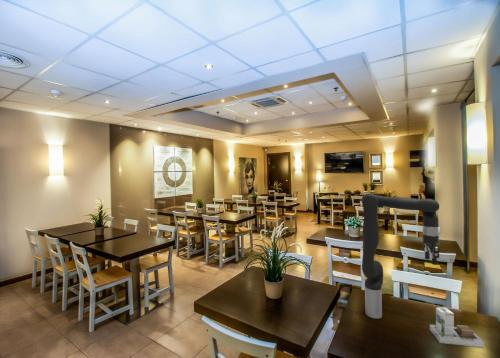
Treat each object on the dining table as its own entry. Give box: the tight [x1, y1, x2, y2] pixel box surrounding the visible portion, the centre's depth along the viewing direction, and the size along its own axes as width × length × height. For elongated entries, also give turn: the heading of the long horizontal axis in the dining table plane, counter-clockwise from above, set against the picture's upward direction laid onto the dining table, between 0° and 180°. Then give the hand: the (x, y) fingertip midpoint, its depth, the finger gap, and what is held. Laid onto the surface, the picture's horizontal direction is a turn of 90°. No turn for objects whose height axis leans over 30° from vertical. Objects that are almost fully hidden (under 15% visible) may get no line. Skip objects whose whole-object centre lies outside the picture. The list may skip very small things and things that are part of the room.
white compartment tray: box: [429, 324, 485, 349], centre depth 133 cm, size 11×19×3 cm, turn 77°
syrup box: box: [435, 307, 455, 337], centre depth 134 cm, size 6×6×14 cm
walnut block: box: [456, 324, 475, 339], centre depth 132 cm, size 5×5×6 cm
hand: (430, 261), depth 145 cm, fingers open, 8 cm apart
